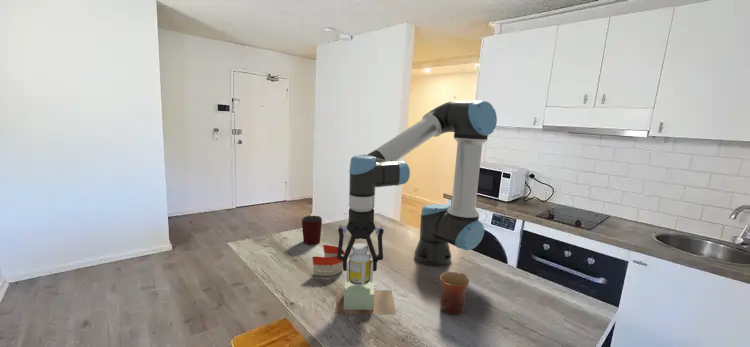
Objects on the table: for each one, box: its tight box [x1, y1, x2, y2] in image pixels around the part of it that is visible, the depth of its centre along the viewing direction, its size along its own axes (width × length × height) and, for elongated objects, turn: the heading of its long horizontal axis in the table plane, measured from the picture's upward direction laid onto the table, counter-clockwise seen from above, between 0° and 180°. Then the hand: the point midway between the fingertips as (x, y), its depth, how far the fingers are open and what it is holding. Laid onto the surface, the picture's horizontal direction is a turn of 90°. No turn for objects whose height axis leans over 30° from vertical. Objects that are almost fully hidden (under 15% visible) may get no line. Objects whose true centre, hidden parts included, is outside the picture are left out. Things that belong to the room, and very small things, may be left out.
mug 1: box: [301, 215, 323, 246], centre depth 151 cm, size 12×9×11 cm
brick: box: [343, 278, 375, 310], centre depth 102 cm, size 9×9×5 cm
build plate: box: [334, 289, 397, 315], centre depth 103 cm, size 18×13×1 cm
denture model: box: [312, 244, 345, 277], centre depth 122 cm, size 12×10×8 cm
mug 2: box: [439, 271, 470, 315], centre depth 102 cm, size 12×9×10 cm
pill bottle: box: [348, 242, 372, 286], centre depth 100 cm, size 6×6×12 cm
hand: (359, 280), depth 101 cm, fingers closed on pill bottle, 6 cm apart
